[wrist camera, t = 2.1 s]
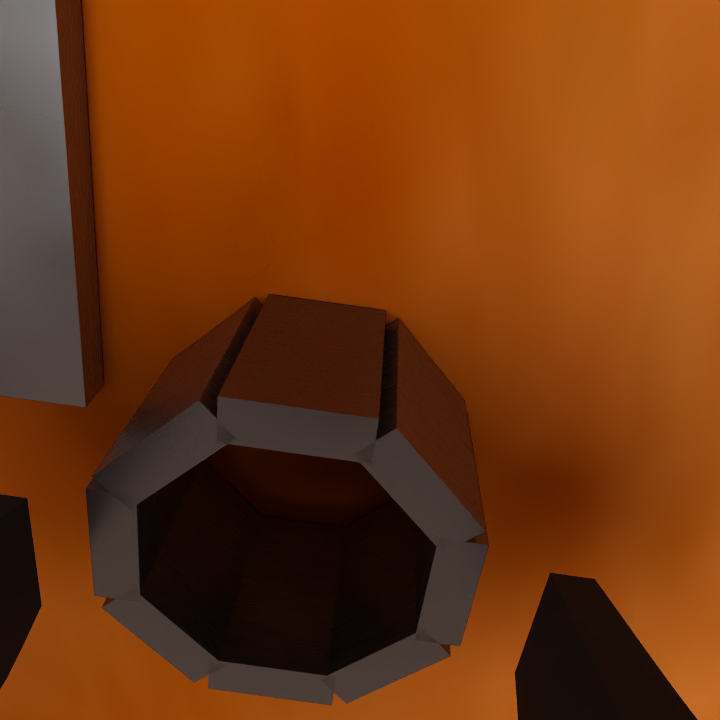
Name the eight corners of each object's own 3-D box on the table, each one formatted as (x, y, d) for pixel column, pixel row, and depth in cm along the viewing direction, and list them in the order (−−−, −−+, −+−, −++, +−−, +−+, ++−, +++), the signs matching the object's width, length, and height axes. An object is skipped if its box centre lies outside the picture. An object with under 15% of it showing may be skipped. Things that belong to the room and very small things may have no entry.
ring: (430, 564, 14) (439, 720, 11) (168, 528, 14) (100, 673, 11) (487, 325, 11) (519, 438, 8) (166, 279, 11) (76, 376, 8)
